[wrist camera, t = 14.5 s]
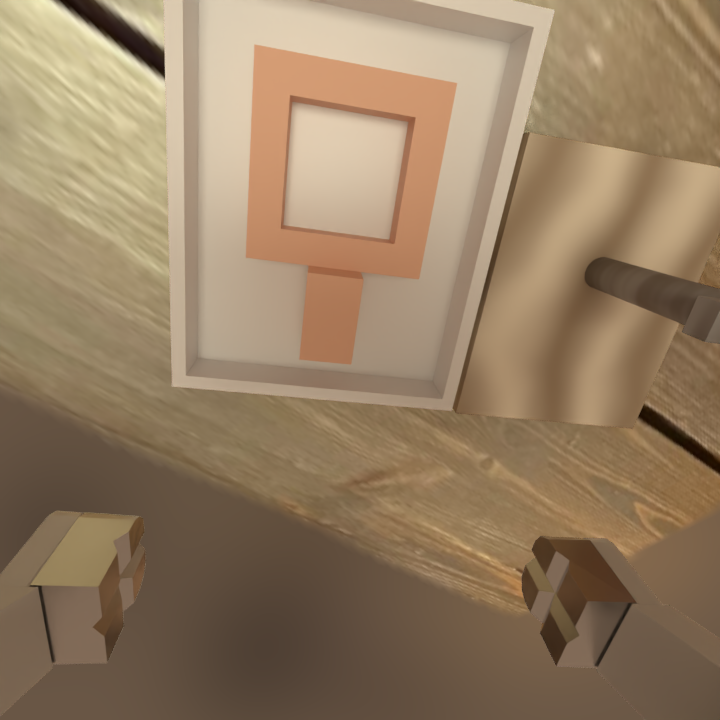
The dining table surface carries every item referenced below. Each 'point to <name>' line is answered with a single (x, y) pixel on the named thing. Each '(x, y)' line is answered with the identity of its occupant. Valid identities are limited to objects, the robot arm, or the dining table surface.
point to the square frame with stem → (331, 249)
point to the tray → (338, 190)
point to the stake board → (548, 294)
